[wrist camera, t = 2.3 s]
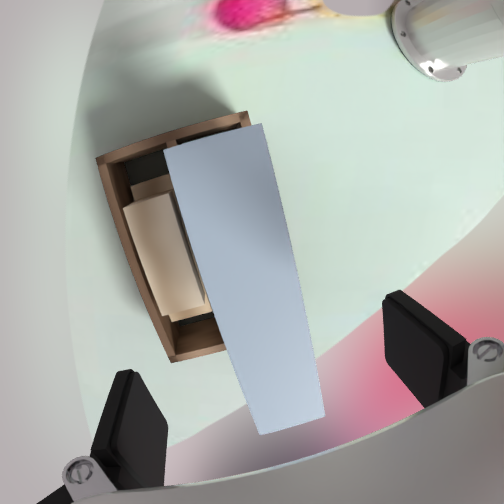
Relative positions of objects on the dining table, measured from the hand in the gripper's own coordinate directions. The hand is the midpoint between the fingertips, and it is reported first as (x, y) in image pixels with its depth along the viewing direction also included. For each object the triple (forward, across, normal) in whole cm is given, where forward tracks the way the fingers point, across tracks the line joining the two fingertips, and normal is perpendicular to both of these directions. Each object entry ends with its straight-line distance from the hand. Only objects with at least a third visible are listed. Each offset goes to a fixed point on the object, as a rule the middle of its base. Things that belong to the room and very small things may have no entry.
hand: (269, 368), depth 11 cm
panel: (+24, -1, 0) cm, 24 cm away
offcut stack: (+24, +6, 0) cm, 25 cm away
